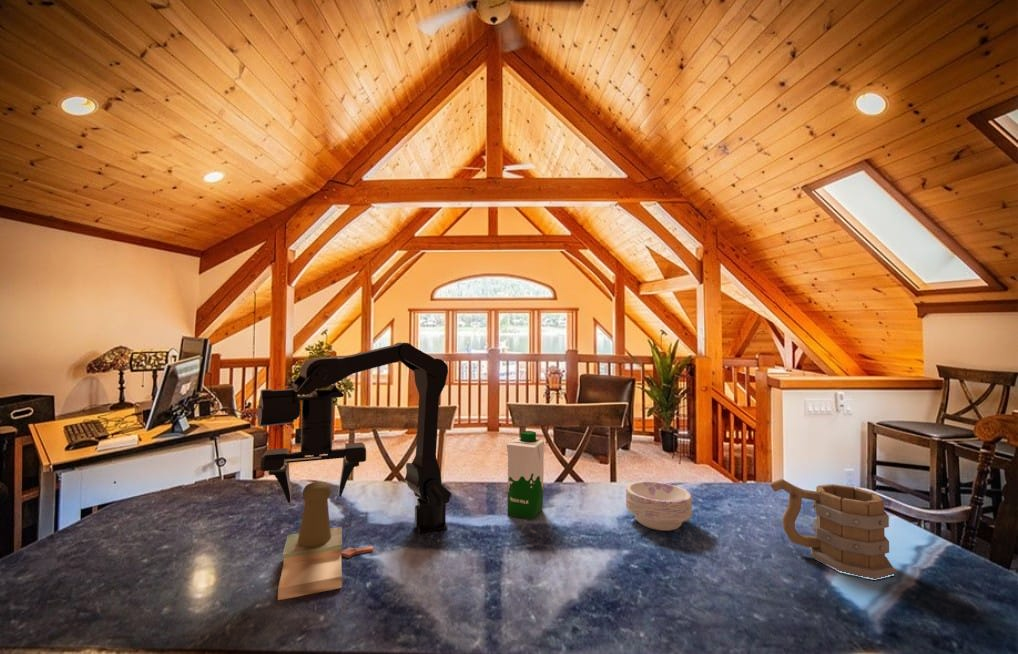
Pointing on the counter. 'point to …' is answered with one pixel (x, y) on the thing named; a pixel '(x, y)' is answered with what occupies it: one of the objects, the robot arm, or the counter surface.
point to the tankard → (842, 528)
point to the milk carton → (525, 475)
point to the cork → (315, 515)
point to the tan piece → (313, 566)
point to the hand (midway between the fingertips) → (315, 499)
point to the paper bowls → (659, 504)
